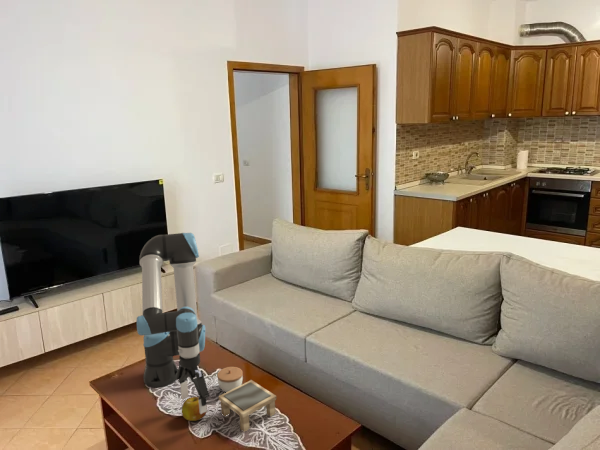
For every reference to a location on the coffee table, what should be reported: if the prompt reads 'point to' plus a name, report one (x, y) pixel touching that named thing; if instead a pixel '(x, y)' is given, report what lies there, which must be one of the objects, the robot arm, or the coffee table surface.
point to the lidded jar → (230, 378)
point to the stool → (247, 401)
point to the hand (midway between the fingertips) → (194, 404)
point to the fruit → (192, 409)
